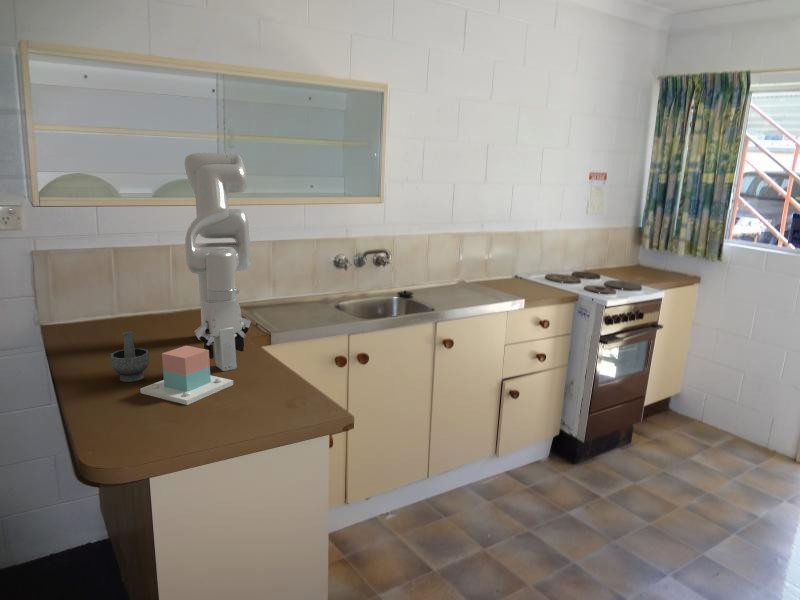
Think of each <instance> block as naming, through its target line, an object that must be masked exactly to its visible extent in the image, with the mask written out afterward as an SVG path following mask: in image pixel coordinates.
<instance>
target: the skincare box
mask: <svg viewBox="0 0 800 600" xmlns="http://www.w3.org/2000/svg"><path fill="white" fill-rule="evenodd" d="M213 351H214V359H215V366H216V367H217V368H218V369H220V370H221V371H223V372H227V371H233V370H237V356H236V348H235V338H234V328H227V329H222V330H220V336H219V337H215V338H214V342H213Z"/></svg>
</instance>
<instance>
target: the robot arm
mask: <svg viewBox="0 0 800 600" xmlns="http://www.w3.org/2000/svg"><path fill="white" fill-rule="evenodd" d="M184 170H185V174H186V176H187V180H188V181H189V183H190V186H191V188H192V190H193V193H194V198H195V209H196V218H194V220H193V221H192V222H191V224H190V225H189V227H188V229H187V231H186V234H185V239H184V241H185V242H184V243H185V244H184V246H185V247H184V248H185V261H186V266H187V268H188V270H189V271H190V273H193V274H197V276H198V278H197V279H198V288H199V303H200V306H199V307H200V320H201V325H200V326H198V327H197V329H195V330H194V334H195V335H194V336H196V338H197V340H198V341H200V342H201V344H203V349H206V350H209V360H213V359H215V354H214V344H212V343H214V338H215V337H219V336H220V330H222V329H227V328H234V340H235V351H239V352H244V349H245V348H244V347H245V342H244V341H245V337H246V334H247V333H248V332H249V328H250V325H251V323H252V321H251V320H250V319H248V318H244V317H242V312H241V306H240V302H239V299H238V298H237V294H239V293H240V289H239V288H237V287H236V273H235V272H245V271H247V270H248V269H249V268H250V266H251V244H250V228H249V220H248V216H247V214H246V212H245V211H244V210H242V209H239V208H229V198H228V194H230V193H231V194H234V193H236V194H238V193H239V194H240V193H244V192H245V191H246V190H247V186H248V174H247V170H246V167H245V164H244V160H243V159H242V157H241V156H240V155H239V154H237V153H230V152H229V153H228V152H224V153H223V152H220V153H219V152H194V153H190V154H188V155H187V156H186V157H185V158H184ZM198 235H199V236H200V237H201V238H203V239H209V240H210V239H213V240H215V239H218V240H219V239H233V240H234V242H207V243H201V244H200V245H198V246H197V245H196V239H197V237H198ZM196 246H197V247H196Z"/></svg>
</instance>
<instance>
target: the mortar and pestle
mask: <svg viewBox="0 0 800 600" xmlns="http://www.w3.org/2000/svg"><path fill="white" fill-rule="evenodd" d="M121 334H122V337H123V349H120V350H116V351H114V352H112V353H109V355H110V363H111V367H112V368H113V370H114V372H115V373H117V374H118V375H119V381H121V382H125V383H127V382H129V383H131V382H136V381H139V380H142V379H144V378H145V374H144V371H146V369H147V368H148V366H149V364H150V352H149V349H146V348H141V347H140V348H139V347H137V348H135V345H134V344H135V343H134V338H133V337H134V336H133V335H134V332H133V331H131V330H126V331H124V332H121Z"/></svg>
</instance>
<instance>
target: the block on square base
mask: <svg viewBox="0 0 800 600" xmlns="http://www.w3.org/2000/svg"><path fill="white" fill-rule="evenodd" d="M161 358H162V373H163V380H160V381H157V382H154V383H152V384H149V385H147V386H144V387H143V386H142V388H139V389H140V394H143V395H147V396H151V397H154V398H157V399H162V400H165V401H170V402H173V403H178V404H182V405H186V406H188V405H190V404H192V403H195V402H197V401H199V400H202V399H203V398H206V397H209V396H211V395H213V394H215V393H218V392H220V391H222V390H225V389H226V388H229V387H232V386H233V385H234V380H233V379H230V378H229V379H228V378H224V377H219V376H216V375H215V376H214V375H211V366H210V364H211V363H210V358H209V350H206V349H204V348H201V347H200V348H199V347H195V346H190V345H183V346H180V347H178V348H174V349H172V350H169V351H165V352H162V353H161Z"/></svg>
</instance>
